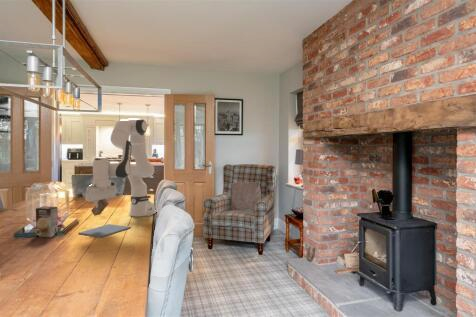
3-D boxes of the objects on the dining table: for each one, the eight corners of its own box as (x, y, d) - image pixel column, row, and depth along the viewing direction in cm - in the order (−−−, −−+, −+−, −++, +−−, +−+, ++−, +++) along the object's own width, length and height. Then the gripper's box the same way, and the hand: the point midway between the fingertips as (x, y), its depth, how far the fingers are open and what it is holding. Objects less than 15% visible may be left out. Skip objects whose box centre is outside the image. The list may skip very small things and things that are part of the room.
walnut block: (96, 209, 187) (105, 198, 184) (100, 214, 186) (108, 203, 183) (91, 210, 183) (99, 199, 180) (94, 215, 182) (103, 204, 179)
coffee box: (35, 237, 170) (34, 208, 169) (43, 233, 176) (43, 206, 176) (50, 237, 169) (50, 208, 168) (58, 234, 175) (58, 206, 175)
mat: (108, 225, 195) (108, 224, 195) (130, 228, 188) (130, 226, 188) (78, 234, 175) (78, 232, 175) (101, 237, 168) (101, 236, 168)
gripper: (90, 185, 171) (90, 210, 172) (117, 182, 190) (118, 204, 190) (82, 185, 174) (82, 209, 174) (110, 182, 193) (110, 204, 193)
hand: (101, 207), depth 182 cm, fingers closed on walnut block, 4 cm apart
